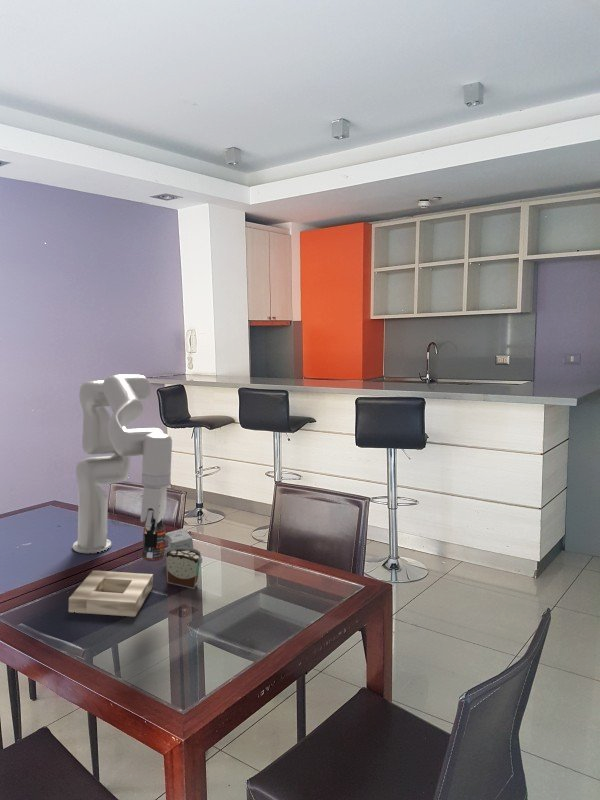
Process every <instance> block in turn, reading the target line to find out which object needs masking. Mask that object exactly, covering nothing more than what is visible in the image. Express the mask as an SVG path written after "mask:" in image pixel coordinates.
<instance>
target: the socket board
mask: <svg viewBox="0 0 600 800" xmlns="http://www.w3.org/2000/svg"><path fill="white" fill-rule="evenodd" d="M153 584H154V574H153V573H138V572H136V573H135V572H123V571H121V572H120V571H107V570H94V569H93V570H92V571H91V572H90V573H88V576H87V577H86V578H85V579H84V580H83V581H82V582H81V584H79V586H78V587H77V588H76V589H75V590H74V591H73V593H71V595H70V596H69V597H68V613H74V612H75V614H76V613H77V614H91V615H104V616H105V615H106V616H107V615H109V616H121V617H124V616H125V617H136V616H137V614H138V612H139V611H140V609H141V608H142V607H143V605H144V602H145V601H146V599H147V597H148V595H150V592H151V590H152V589H153V586H154V585H153Z"/></svg>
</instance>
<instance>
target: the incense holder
mask: <svg viewBox="0 0 600 800" xmlns="http://www.w3.org/2000/svg"><path fill="white" fill-rule="evenodd" d="M165 542H167V548H168V549H167V550H169V549H172V548H178V547H187V548H193V549H194V544H193V542H194V541H193V537H192V536H191V534H189V532H188V531H187V530H186V528H180V529H176V530H172V531H169V532H165Z"/></svg>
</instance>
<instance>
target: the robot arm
mask: <svg viewBox="0 0 600 800" xmlns="http://www.w3.org/2000/svg"><path fill="white" fill-rule="evenodd" d="M78 394H79V395H78V397H79V403H80V405H81V408H82V409H81V410H82V413H83V414H82V415H83V417H82V418H83V420H82V438H81V440H82V443H81V444H82V445H81V446H82V449H83V451H84V453H85V454H87V455H93V456H91V457H86V458H83V459H80V460H79V461H78V462H77V463H76V467H75V475H76V476H75V477H76V482H77V493H78V495H77V501H78V502H77V504H78V506H77V540H75V541H74V542H73V544H72V550H74V551H75V553H76V552H77V553H80V554H88V555H89V554H90V553H91V554H97V552H99V553H102V552H101V551H103V552H105V551H104V550H106V551H108V550H109V549H111V547H112V541H111V540H110V539H108V530H109V529H108V506H109V505H108V503H109V501H108V500H109V498H108V497H109V496H108V494H107V492H106V491H105V490H104V489H103V488H102V487H101V486H102V485H111V484H117V483H122V482H125V481H126V480H127V479H128V477H129V475H130V467H131V457H137V456H138V457H139V456H142V467H141V468H142V469H141V470H142V471H141V473H142V474H141V485H142V486H143V491H142V499H141V511H140V522H141V523H142V524H144V523H145V526H144V527H146V528H145V547H149V548H156V547H157V533H156V530H157V523H159V522H160V520H161V519H163V520H162V522H163V523H162V524H163V525H164V516H165V514H166V511H167V498H168V496H167V495H168V493H167V492H168V490H167V489H168V488H167V487H170V485H171V478H172V477H171V473H172V455H173V453H172V450H173V449H172V448H173V440H172V437H171V435H169V434H167V433H165V432H164V431H163V430H162V429H161V428H158V427H144V428H127V427H126V426H128V425H130V424H132V423H134V422H136V421H137V420H138V419H139V418H140V417H141V416H142V414H143V412H144V405H143V403H144V402H146V401H148V400H149V399H150V397H151V394H152V385H151V382H150V381H149V379H148V378H147V377H146V376H145V375H141V374H113V375H110V376H107V377H106V378H105V379H103V380H102V379H101V380H100V379H99V380H88V381H85V382H84V383H83V382H82V384H81V386H80V388H79V393H78ZM108 407H110V408H111V411H112V415H111V412H110V410H109V408H108ZM109 454H114V455H109ZM94 455H95V456H94ZM97 455H100V456H97ZM101 455H103V456H101ZM152 520H155V522H152ZM152 524H154V528H153V526H152ZM108 548H109V549H108ZM107 549H108V550H107Z"/></svg>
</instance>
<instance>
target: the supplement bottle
mask: <svg viewBox="0 0 600 800" xmlns="http://www.w3.org/2000/svg"><path fill="white" fill-rule="evenodd" d="M162 520H163V522H162ZM152 522H155V520H152ZM162 523H163V524H162ZM152 526H153V528H154V524H152ZM145 528H146V527H145V526H143V533H142V534H143V535H142V559H143V560H145V561H147V562H159V561H161V560H162V559H164V558H165V557H164V555H165V552H166V547H165V545H166V540H165V533H166V531H167V530H166V526H165V525H164V518H163V519H161V520H160V522H159V523H157V530H156V533H157V547H156V548H149V547H145Z"/></svg>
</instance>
